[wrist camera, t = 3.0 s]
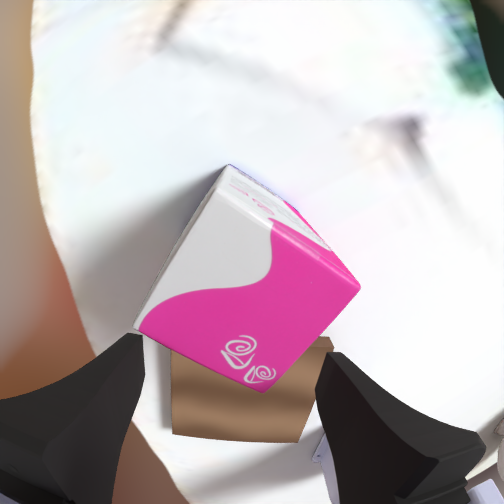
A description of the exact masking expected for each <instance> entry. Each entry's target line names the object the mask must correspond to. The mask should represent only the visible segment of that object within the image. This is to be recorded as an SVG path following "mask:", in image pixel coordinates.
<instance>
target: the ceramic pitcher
mask: <svg viewBox="0 0 504 504" xmlns="http://www.w3.org/2000/svg"><path fill="white" fill-rule="evenodd" d="M494 433H497V434H499V435H503V436H504V418H503V419H502V420H501V421H500V423H499V424H498V426H497V427H496V429H495V430H494ZM497 465H498V472H499V474H500V476H501V478H502V480H503V481H504V437H503V439H502V441H501V443H500V446H499V450H498V462H497Z"/></svg>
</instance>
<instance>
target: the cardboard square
mask: <svg viewBox="0 0 504 504" xmlns="http://www.w3.org/2000/svg"><path fill="white" fill-rule="evenodd" d="M333 349H334V346H333V344H332V342H331V340H330V338H329V337H321V336H319V337H318V338H317V339H316V340H315V341H314V342H313V343H312V344H311V345H310V346H309V347H308V348H307V350H306V351H305V352H304V353H303V354H302V355H301V356H300V357H299V358H298V359H297V360H296V361H295V362H294V363H293V365H292V366H291V367H290V368H289V369H288V370H287V371H286V372H285V373H284V374H283V376H282V377H281V378H280V379H279V380H278V381H277V382H276V383H275V384H274V385H273V386H272V387H271V388H270V389H268V390H267V391H266V392H265V393H264V394H263V393H260V392H258V391H255V390H253V389H251V388H249V387H246V386H244V385H242V384H240V383H237V382H235V381H233V380H231V379H229V378H227V377H225V376H223V375H221V374H218V373H216V372H214V371H212V370H210V369H208V368H206V367H204V366H202V365H200V364H198V363H196V362H194V361H192V360H190V359H188V358H186V357H184V356H182V355H180V354H179V353H177V352H175V351H173V350H171V404H172V434H175V435H182V436H189V437H197V438H206V439H216V440H227V441H242V442H266V443H298V441H299V438H300V436H301V434H302V431H303V429H304V427H305V424H306V422H307V419H308V417H309V414H310V412H311V409H312V407H313V404H314V402H315V399H316V396H315V386H316V383H317V380H318V377H319V374H320V371H321V368H322V365H323V362H324V359H325V356H326V353H327V352H333Z"/></svg>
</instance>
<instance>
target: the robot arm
mask: <svg viewBox="0 0 504 504" xmlns="http://www.w3.org/2000/svg"><path fill="white" fill-rule="evenodd" d="M144 378H145V367H144V353H143V336H142V335H138V334H132V333H127V334H125V335H124V336H123V337H122V338H120V339H119V340H118V341H117V342H115V343H114V344H113V345H112V346H110V347H109V348H108V349H107V350H105V351H104V352H103V353H101V354H100V355H99V356H97V357H96V358H95V359H94V360H92V361H91V362H89V363H88V364H86V365H85V366H83V367H82V368H80V369H79V370H77V371H75V372H74V373H72V374H70V375H69V376H67V377H65V378H63V379H61V380H59V381H57V382H55V383H53V384H50V385H48V386H45V387H43V388H41V389H38V390H36V391H33V392H30V393H27V394H23V395H19V396H16V397H12V398H7V399H1V400H0V504H111V503H112V496H113V489H114V482H115V477H116V471H117V466H118V461H119V456H120V452H121V447H122V444H123V441H124V437H125V435H126V432H127V429H128V427H129V424H130V421H131V419H132V416H133V414H134V411H135V408H136V406H137V403H138V400H139V398H140V394H141V390H142V386H143V382H144ZM315 396H316V403H317V408H318V412H319V416H320V419H321V422H322V425H323V428H324V431H325V433H324V435H323V437H322V439H321V441H320V444H319V446H318V448H317V450H316V452H315V454H314V455H313V457H312V461H313V462H321V466H322V470H323V474H324V478H325V482H326V486H327V490H328V494H329V498H330V500H331V502H332V504H504V499H503V498H502V496H501V494H500V492H499V490H498V489H497V487H496V485H495V484H494V482H493V480H492V479H489V480H487V481H485V482H483V483H481V484H479V485H477V486H475V487H473V488H472V489H470V490H469V491H467V492H466V490H465V488H464V487H465V486H466V485H467V480H466V479H465V476H466V475H467V474H468V473H469V472H470V471H471V470H472V469H473V468H474V467H475V466H476V464H477V463H478V462H479V461H480V460H481V458H482V457H483V455H484V454H485V451H486V446H485V444H484V443H483V441H482V440H481V438H480V437H479V435H478V434H477V433H476V432H474V431H470V430H466V429H462V428H458V427H454V426H451V425H448V424H446V423H443V422H440V421H438V420H435V419H433V418H431V417H429V416H427V415H425V414H423V413H420V412H418V411H417V410H415V409H413V408H411V407H410V406H408V405H406V404H405V403H403V402H401V401H400V400H398V399H397V398H395V397H394V396H393V395H391V394H390V393H389V392H387V391H386V390H385V389H383V388H382V387H381V386H379V385H378V384H377V383H376V382H375V381H373V380H372V379H371V378H370V377H369V376H368V375H366V374H365V373H364V372H363V371H362V370H361V369H360V368H358V367H357V366H356V365H355V364H354V363H353V362H352V361H351V360H350V359H348V358H347V357H346V356H345V355H344V354H342V353H341V352H327V353H326V356H325V359H324V362H323V365H322V368H321V371H320V374H319V377H318V380H317V383H316V386H315Z"/></svg>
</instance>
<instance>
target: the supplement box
mask: <svg viewBox="0 0 504 504" xmlns="http://www.w3.org/2000/svg"><path fill="white" fill-rule="evenodd" d="M360 289H361V286H360V284H359V282H358V281H357V280H356V279H355V277H354V276H353V275H352V274H351V272H350V271H349V270H348V269H347V268H346V266H345V265H344V264H343V263H342V262H341V260H340V259H339V258H338V257H337V256H336V254H335V253H334V252H333V251H332V250H331V249H330V248H329V246H328V245H327V244H326V243H325V242H324V241H323V240H322V238H321V237H320V236H319V235H318V234H317V233H316V232H315V230H314V229H313V228H312V227H311V226H310V225H309V224H308V222H307V221H306V220H305V219H304V218H303V217H302V216H301V215H300V213H299V212H298V211H297V210H296V209H295V208H294V207H292V206H291V205H290V204H288V203H287V202H286V201H284V200H283V199H282V198H280V197H279V196H278V195H276V194H275V193H273V192H272V191H270V190H269V189H267V188H266V187H265V186H263V185H262V184H260V183H259V182H257V181H256V180H254V179H253V178H251V177H250V176H248V175H247V174H245V173H244V172H242V171H240V170H239V169H237V168H236V167H234V166H232V165H231V164H228V165H227V166H226V167H225V168H224V170H223V171H222V173H221V174H220V175H219V177H218V178H217V180H216V181H215V183H214V184H213V185H212V187H211V188H210V190H209V191H208V193H207V194H206V196H205V197H204V199H203V200H202V202H201V203H200V205H199V206H198V208H197V210H196V211H195V213H194V214H193V216H192V217H191V219H190V221H189V222H188V224H187V226H186V227H185V229H184V230H183V232H182V234H181V236H180V237H179V239H178V241H177V242H176V244H175V246H174V247H173V249H172V251H171V253H170V255H169V256H168V258H167V260H166V262H165V263H164V265H163V267H162V269H161V271H160V273H159V274H158V276H157V278H156V280H155V282H154V284H153V285H152V287H151V289H150V291H149V293H148V295H147V297H146V299H145V300H144V302H143V304H142V306H141V308H140V310H139V312H138V314H137V316H136V318H135V321H134V323H133V328H134V329H135V330H137V331H139V332H141V333H143V334H144V335H146V336H148V337H149V338H151V339H153V340H155V341H157V342H158V343H160V344H162V345H164V346H165V347H167V348H169V349H171V350H173V351H175V352H177V353H179V354H180V355H182V356H184V357H186V358H188V359H190V360H192V361H194V362H196V363H198V364H200V365H202V366H204V367H206V368H208V369H210V370H212V371H214V372H216V373H218V374H221V375H223V376H225V377H227V378H229V379H231V380H233V381H235V382H237V383H240V384H242V385H244V386H246V387H249V388H251V389H253V390H255V391H258V392H260V393H263V394H264V393H265V392H266V391H267V390H268V389H270V388H271V387H272V386H273V385H274V384H275V383H276V382H277V381H278V380H279V379H280V378H281V377H282V376H283V374H284V373H285V372H286V371H287V370H288V369H289V368H290V367H291V366H292V365H293V363H294V362H295V361H296V360H297V359H298V358H299V357H300V356H301V355H302V354H303V353H304V352H305V351H306V350H307V348H308V347H309V346H310V345H311V344H312V343H313V342H314V341H315V340H316V339H317V338H318V337H319V336H320V335H321V334H322V332H323V331H324V330H325V329H326V328H327V327H328V326H329V325H330V324H331V323H332V321H333V320H334V319H335V318H336V317H337V316H338V315H339V314H340V313H341V311H342V310H343V309H344V308H345V307H346V306H347V305H348V303H349V302H350V301H351V300H352V299H353V298H354V296H355V295H356V294H357V293H358V292H359V290H360Z"/></svg>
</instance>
